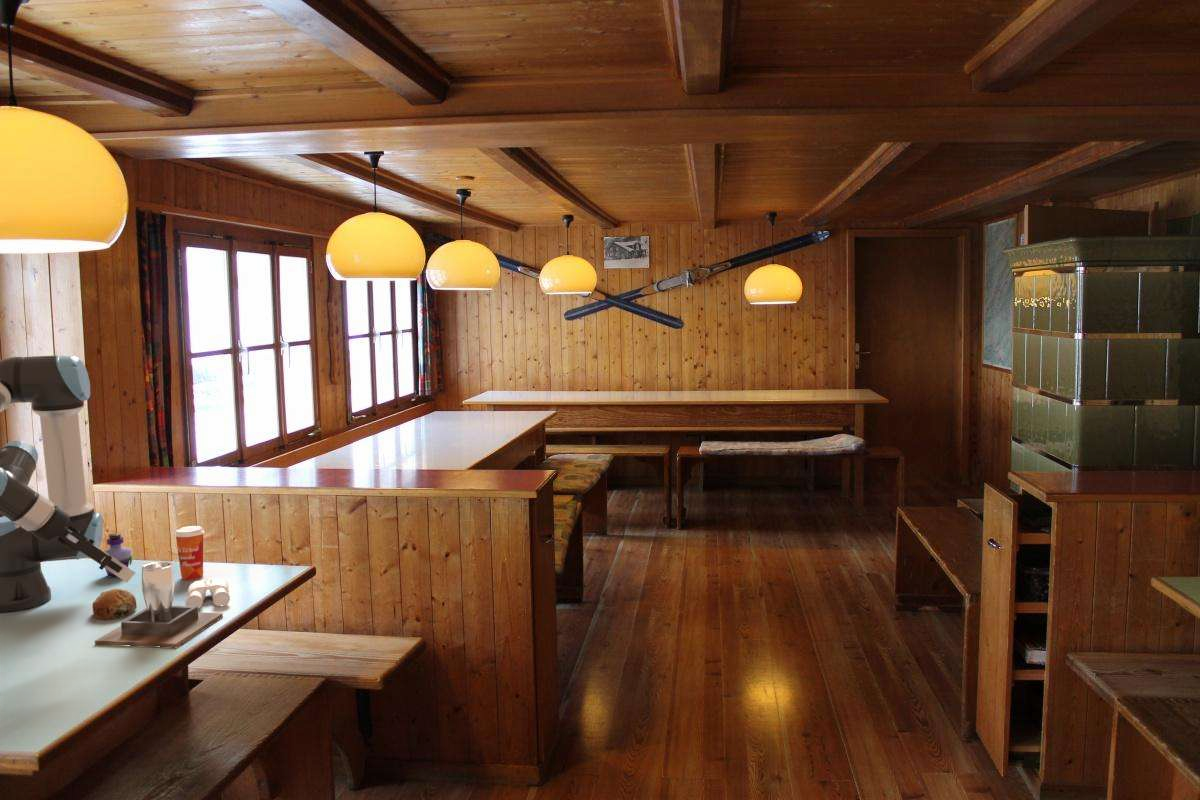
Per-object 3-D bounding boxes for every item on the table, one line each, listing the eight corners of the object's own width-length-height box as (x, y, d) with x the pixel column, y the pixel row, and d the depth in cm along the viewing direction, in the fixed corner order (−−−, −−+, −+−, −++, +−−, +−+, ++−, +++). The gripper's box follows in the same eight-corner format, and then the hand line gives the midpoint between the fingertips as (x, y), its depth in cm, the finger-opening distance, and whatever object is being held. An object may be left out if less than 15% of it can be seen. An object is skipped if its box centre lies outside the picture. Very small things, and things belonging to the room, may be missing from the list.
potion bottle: (138, 574, 265) (135, 533, 264) (106, 581, 260) (102, 539, 258) (129, 568, 272) (126, 528, 270) (96, 574, 266) (93, 534, 264)
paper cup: (172, 581, 259) (169, 532, 257) (185, 572, 267) (182, 525, 265) (199, 581, 259) (196, 532, 257) (212, 572, 266) (209, 525, 265)
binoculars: (186, 612, 235) (184, 594, 234) (188, 593, 249) (187, 576, 249) (230, 606, 238) (229, 589, 238) (229, 588, 253) (228, 572, 253)
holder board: (95, 644, 213) (93, 628, 212) (148, 614, 232) (146, 599, 232) (176, 648, 210) (174, 631, 210) (222, 617, 230) (221, 601, 229)
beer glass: (168, 631, 217) (164, 570, 216) (139, 631, 218) (134, 570, 216) (182, 621, 224) (178, 561, 223) (154, 621, 225) (149, 561, 223)
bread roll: (138, 620, 239) (137, 589, 241) (134, 615, 230) (133, 583, 232) (95, 626, 235) (94, 594, 237) (89, 621, 226) (89, 588, 228)
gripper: (16, 522, 209) (94, 572, 221) (43, 544, 191) (126, 597, 203) (41, 495, 212) (116, 546, 224) (70, 514, 194) (150, 568, 206)
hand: (121, 570), depth 214 cm, fingers open, 13 cm apart
